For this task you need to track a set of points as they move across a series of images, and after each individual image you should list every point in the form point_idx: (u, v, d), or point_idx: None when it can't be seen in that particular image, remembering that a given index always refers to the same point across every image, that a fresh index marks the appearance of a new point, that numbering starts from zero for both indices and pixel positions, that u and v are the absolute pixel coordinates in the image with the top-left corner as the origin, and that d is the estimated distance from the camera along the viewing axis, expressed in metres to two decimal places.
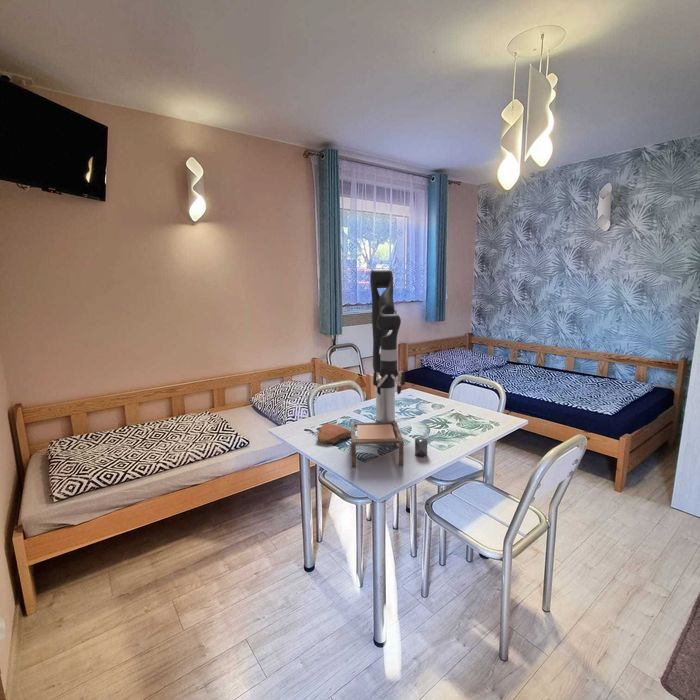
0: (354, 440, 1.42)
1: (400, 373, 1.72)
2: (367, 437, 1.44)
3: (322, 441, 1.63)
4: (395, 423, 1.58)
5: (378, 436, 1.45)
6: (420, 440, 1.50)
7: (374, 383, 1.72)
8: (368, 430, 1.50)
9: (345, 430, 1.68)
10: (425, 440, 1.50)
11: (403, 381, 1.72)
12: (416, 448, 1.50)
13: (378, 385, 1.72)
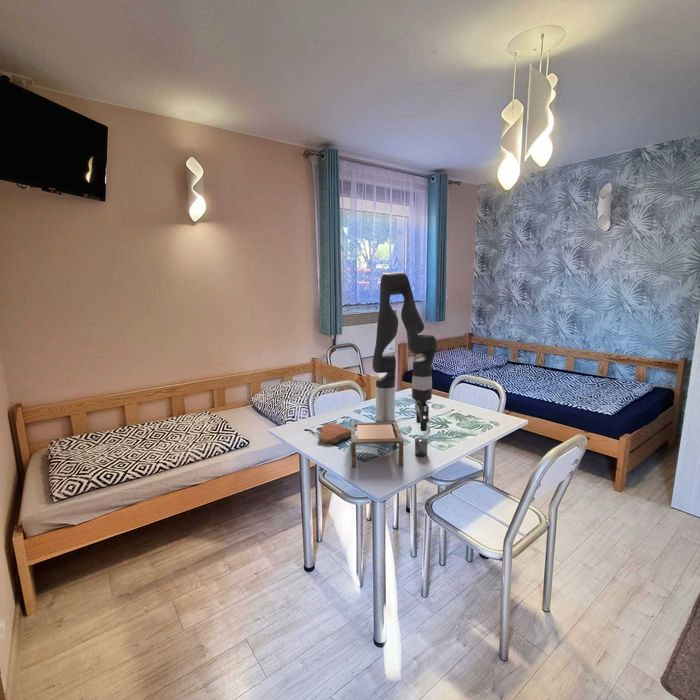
0: (354, 440, 1.42)
1: None
2: (367, 437, 1.44)
3: (323, 441, 1.63)
4: (395, 423, 1.58)
5: (378, 436, 1.45)
6: (420, 440, 1.50)
7: None
8: (368, 430, 1.50)
9: (346, 430, 1.68)
10: (425, 440, 1.50)
11: None
12: (416, 448, 1.50)
13: None
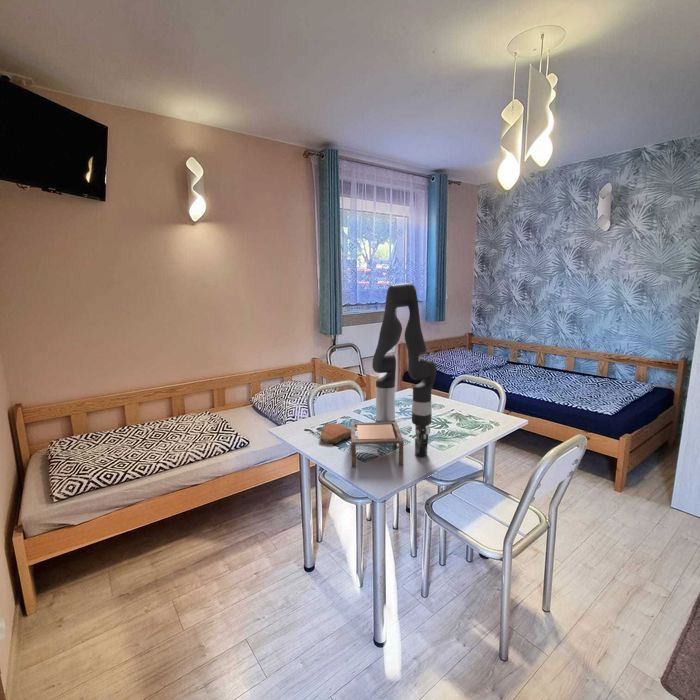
0: (354, 440, 1.42)
1: None
2: (367, 437, 1.44)
3: (325, 441, 1.63)
4: (395, 423, 1.58)
5: (378, 436, 1.45)
6: None
7: None
8: (368, 430, 1.50)
9: (347, 430, 1.69)
10: None
11: None
12: (416, 448, 1.50)
13: None
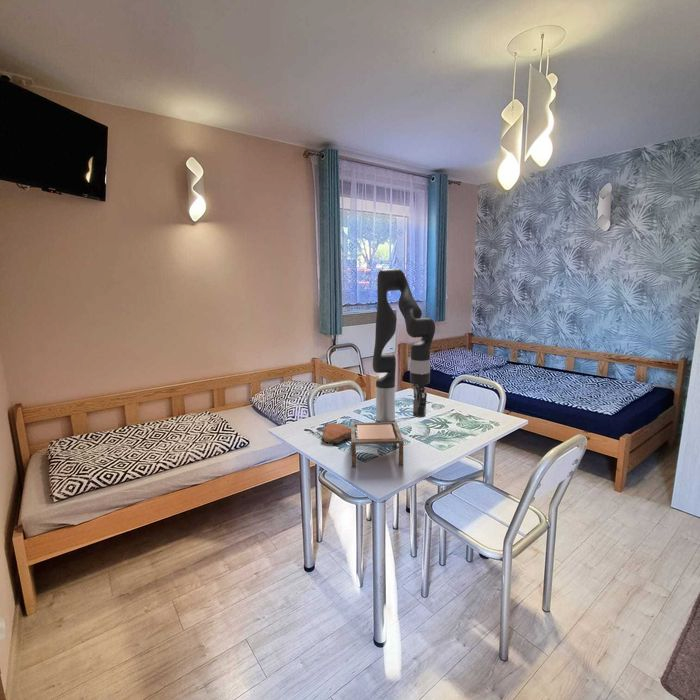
0: (354, 440, 1.42)
1: None
2: (367, 437, 1.44)
3: (327, 440, 1.64)
4: (395, 423, 1.58)
5: (378, 436, 1.45)
6: None
7: (425, 404, 1.43)
8: (368, 430, 1.50)
9: (349, 430, 1.69)
10: None
11: None
12: (414, 408, 1.47)
13: None
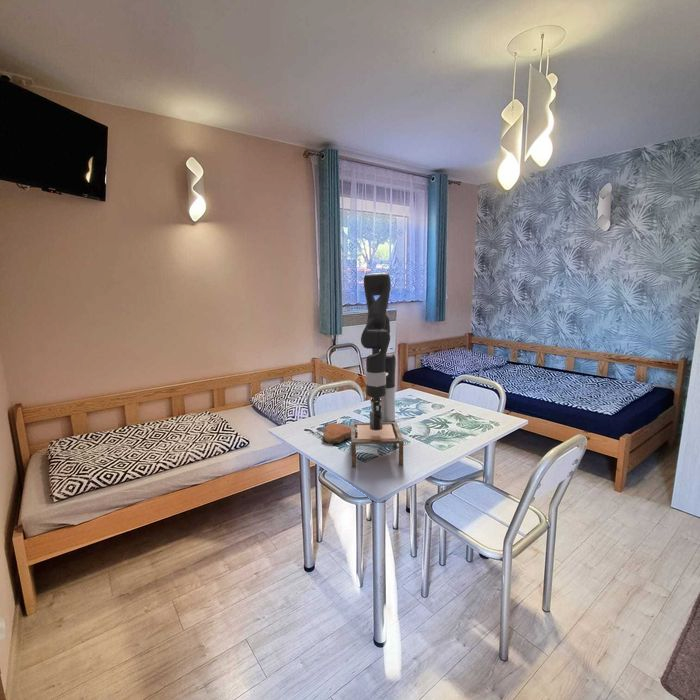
0: (354, 440, 1.42)
1: None
2: (367, 437, 1.44)
3: (327, 440, 1.64)
4: (395, 423, 1.58)
5: (378, 436, 1.45)
6: None
7: (380, 417, 1.40)
8: (368, 430, 1.50)
9: (350, 429, 1.69)
10: None
11: None
12: (370, 421, 1.44)
13: None
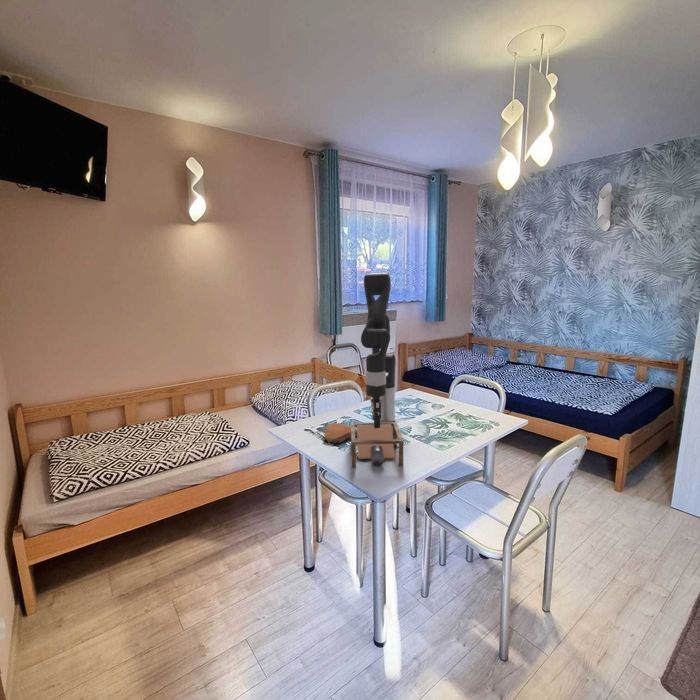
0: (354, 440, 1.42)
1: None
2: (367, 454, 1.48)
3: (329, 440, 1.64)
4: (395, 423, 1.58)
5: None
6: (377, 461, 1.42)
7: (380, 416, 1.38)
8: (368, 439, 1.52)
9: None
10: (382, 462, 1.42)
11: None
12: None
13: None
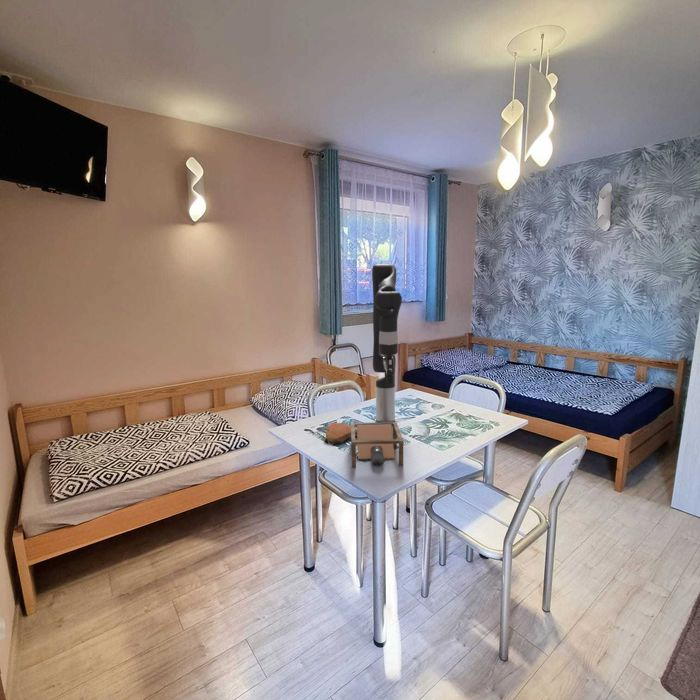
0: (354, 440, 1.42)
1: None
2: (367, 454, 1.48)
3: (330, 440, 1.64)
4: (395, 423, 1.58)
5: None
6: (377, 461, 1.42)
7: None
8: (368, 439, 1.52)
9: None
10: (382, 461, 1.42)
11: None
12: None
13: None
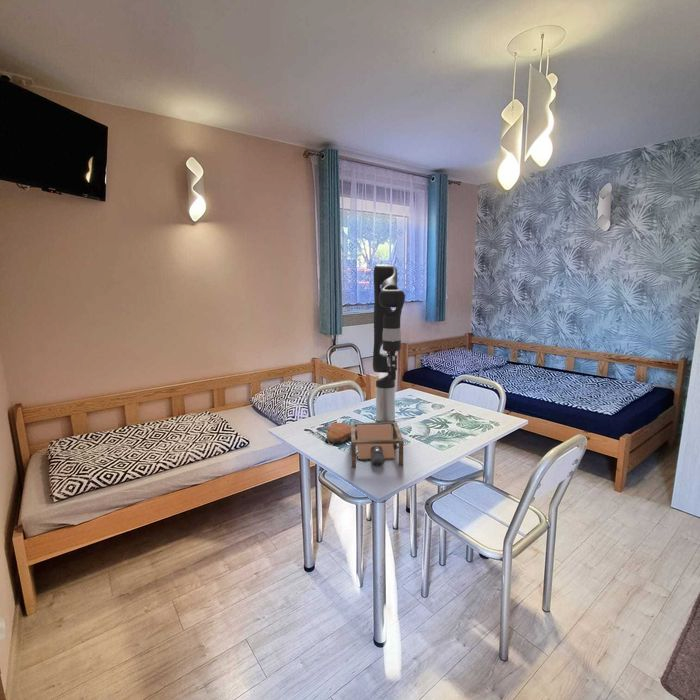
0: (354, 440, 1.42)
1: None
2: (367, 454, 1.48)
3: (331, 440, 1.64)
4: (395, 423, 1.58)
5: None
6: (377, 461, 1.42)
7: (396, 368, 1.53)
8: (368, 439, 1.52)
9: None
10: (382, 461, 1.42)
11: None
12: None
13: None
